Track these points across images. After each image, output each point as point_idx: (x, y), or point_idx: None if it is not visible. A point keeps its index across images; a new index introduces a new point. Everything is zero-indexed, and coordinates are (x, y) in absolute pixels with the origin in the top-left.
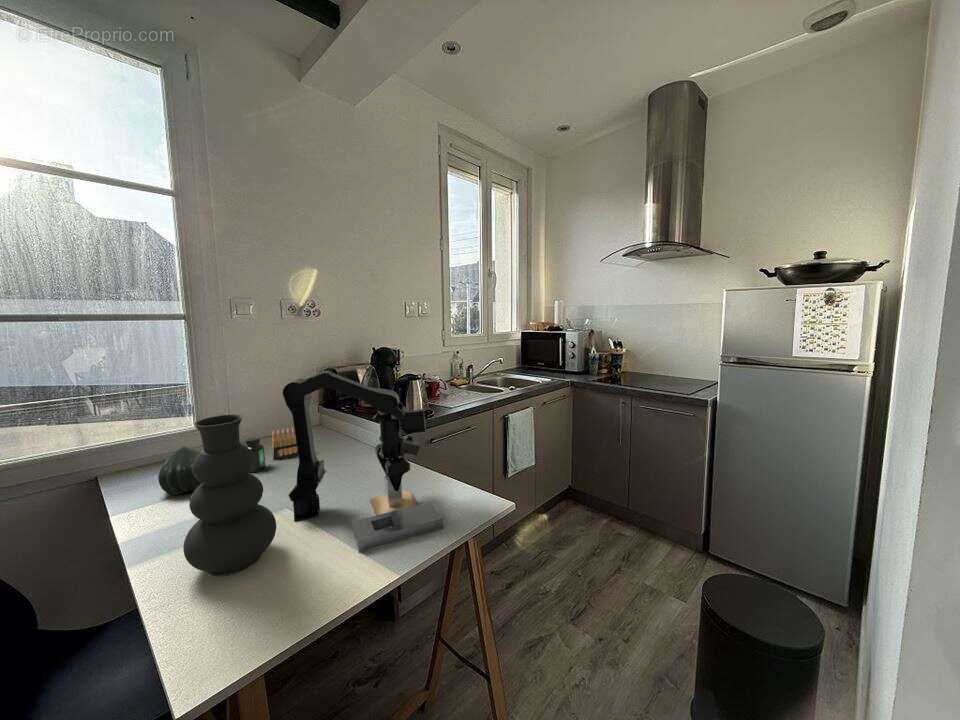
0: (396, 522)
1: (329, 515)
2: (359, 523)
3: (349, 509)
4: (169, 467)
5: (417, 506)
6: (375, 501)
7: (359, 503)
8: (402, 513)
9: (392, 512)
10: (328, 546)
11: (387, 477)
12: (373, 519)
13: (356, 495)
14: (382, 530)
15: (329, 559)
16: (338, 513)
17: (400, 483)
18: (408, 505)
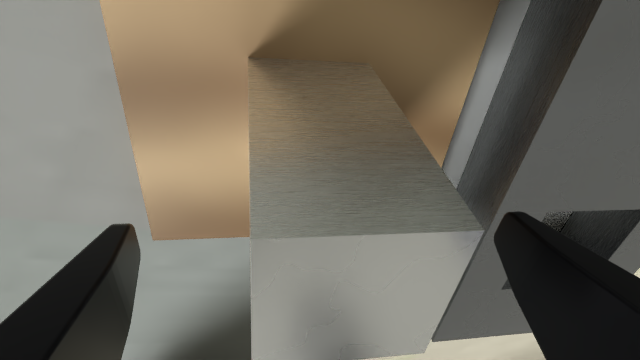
0: (631, 197)
1: (221, 356)
2: (473, 323)
3: (201, 304)
4: None
5: (623, 4)
6: (216, 219)
7: (148, 267)
8: (589, 145)
9: (520, 195)
10: (440, 347)
11: (308, 349)
12: (494, 280)
13: (16, 274)
14: (616, 258)
15: (506, 342)
16: (220, 335)
17: (625, 270)
18: (425, 22)
